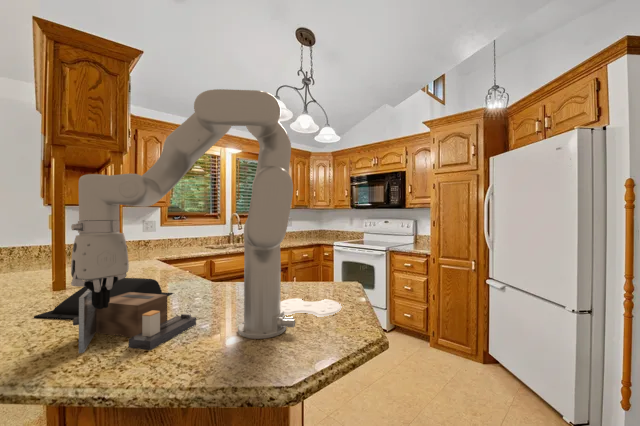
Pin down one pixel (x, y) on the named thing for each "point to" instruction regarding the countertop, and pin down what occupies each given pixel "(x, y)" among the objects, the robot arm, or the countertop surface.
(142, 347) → the fader strip
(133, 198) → the robot arm
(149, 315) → the fader knob
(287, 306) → the white bone shape
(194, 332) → the countertop surface
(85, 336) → the door
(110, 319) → the wooden block
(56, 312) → the black piece
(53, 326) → the countertop surface
